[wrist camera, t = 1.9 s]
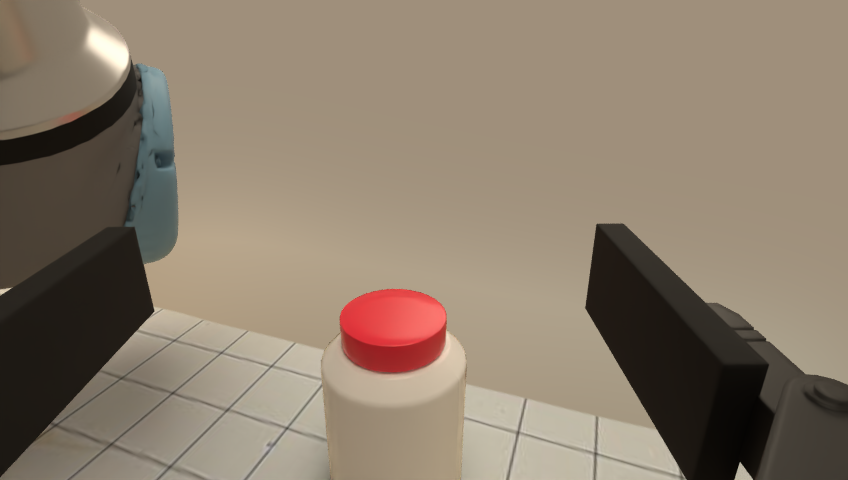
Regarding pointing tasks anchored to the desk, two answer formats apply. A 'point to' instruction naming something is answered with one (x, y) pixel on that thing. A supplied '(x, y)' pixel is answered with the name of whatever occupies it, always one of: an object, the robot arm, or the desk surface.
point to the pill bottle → (394, 390)
